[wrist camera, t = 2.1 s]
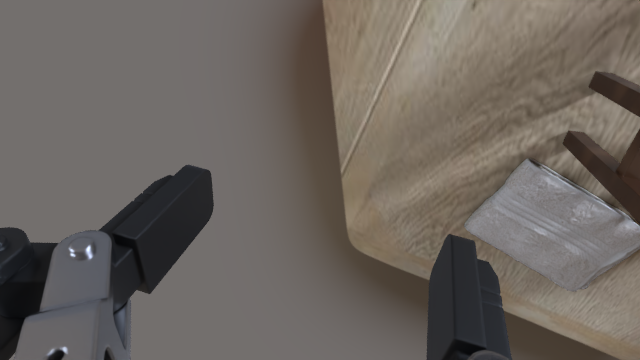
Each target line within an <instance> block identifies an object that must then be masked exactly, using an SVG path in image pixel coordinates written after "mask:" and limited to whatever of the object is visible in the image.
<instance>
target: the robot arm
mask: <svg viewBox="0 0 640 360" xmlns="http://www.w3.org/2000/svg"><path fill="white" fill-rule="evenodd" d="M213 204H214V203H213V191H212V178H211V173H210V171H209V170H207V169H202V168H199V167H195V166H191V165H186V166H184V167H183V168H182V169H181V170H180V171H179V172H178V173H176V174H175V175H174V176H171V175H168V176H166V177H164V178H162V179H160V180H157V181H155V182H154V183H152V184H151V185H150V186H149V187H148V188H147V189H146V190H144V191H143V194H142V193H141V194H140V195H139V196H138V197H136V198H135V200H134V201H132V202H131V203H130V204H128V205H127V206H126V207H125V208H124V209H123V210H121V211H120V212H119V213H118V214H117V215H116V216H115V217H113V218H112V219H111V220H110V221H109V222H108V223H107V224H106V225H105V226H103V227H102V228H101V229H100V230H98V231H96V230H90V231H83V232H79V233H75V234H73V235H71V236H69V237H67V238H65V239H64V240H62V241H61V242H60V243H30V241H29V239H28V237H27V235H26V233H24V231H22V230H20V229H18V228H10V227H8V228H0V360H9V359H10V358H11V357H12V355H13V354H14V353H15V352H16V353H15V357H14V360H131V358H130V339H131V337H130V335H131V300H130V297H131V296H132V294H133V293H134V292H135V291H136V290H139V291H142V292H145V293H148V294H150V293H151V292H152V291H153V290H154V288H155V287H156V286H157V285H158V283H159V282H160V281H161V280H162V278H163V277H164V276H165V275H166V273H167V272H168V271H169V270H170V269H171V267H172V266H173V265H174V263H175V262H176V261H177V260H178V259H179V257H180V256H181V255H182V254H183V252H184V251H185V250H186V249H187V247H188V246H189V245H190V244H191V242H192V241H193V240H194V239H195V237H196V236H197V235H198V234H199V232H200V231H201V230H202V229H203V227H204V226H205V225H206V224H207V222H208V221H209V219H210V217H211V215H212V212H213V206H214V205H213ZM428 305H429V306H428V333H427V334H428V335H427V360H512V358H511V353H510V347H509V341H508V335H507V329H506V323H505V317H504V311H503V308H502V306H503V305H502V299H501V296H500V287H499V281H498V277H497V275H496V273H495V272H494V270H493V268H492V267H491V265H490V264H489V262H487V261H483V260H479V259H477V255H476V246H475V242H474V241H473V240H470V239H466V238H462V237H459V236H455V235H451V234H449V235H448V236H447V237H446V239H445V241H444V244H443V246H442V248H441V250H440V253H439V255H438V257H437V259H436V262H435V264H434V266H433V269H432V272H431V276H430V283H429V302H428Z"/></svg>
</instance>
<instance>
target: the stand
mask: <svg viewBox="0 0 640 360" xmlns="http://www.w3.org/2000/svg"><path fill="white" fill-rule="evenodd" d="M589 87H590V88H591V89H593V90H595V91H597V92H598V93H600V94H602V95H603V96H605V97H607V98H608V99H610V100H612V101H613V102H615V103H617V104H619V105H620V106H622V107H624V108H625V109H627V110H629V111H630V112H632V113H634V114H636V115H637V116H639V117H640V86H639V85H637V84H634V83H632V82H630V81H628V80H626V79H623V78H621V77H619V76H617V75H615V74H613V73H606V72H597V71H596V72H595V74H594V76H593V78H592V80H591V83H590V85H589ZM563 145H564V146H565V147H566V148H567V149H568V150H569V151H570V152H571V153H572V154H573V155H574V156H575V157H576V158H577V159H578V160H579V161H580V162H581V163H582V164H583V165H584V166H585V167H586V168H587V169H588V170H589V172H590V173H591V174H592V175H593V176H594V177H595V178H596V179H597V180H598V181H599V182H600V183H601V184H602V185H603V186H604V187H605V188H606V189H607V190H608V191H609V192H610V193H611V194H612V195H613V196H614V197H615V198H616V199H617V201H618V202H619V203H620V204H621V205H622V206H623V207H624V208H625V209H626V210H627V211H628V212H629V213H630V214H631V215H632V216H633V217H634V218H635V219H636V220H637V221H638V222H639V223H640V129H639V131H638V133H637V134H636V136H635V138H634V140H633V142H632V143H631V145H630V147H629V149H628V150H627V152H626V154H625V156H624V158H623V159H622V161H621V163H619V162H618V161H616V160H615V159H614V158H613V157H612V156H611V155H609V154H608V153H607V152H606V151H605V150H604V149H602V148H601V147H600V146H599V145H598V144H596V143H595V142H594V141H593V140H592V139H591V138H589V137H588V136H587V135H586V134H585V133H583V132H576V131H568V133H567V135H566V137H565V139H564V141H563Z"/></svg>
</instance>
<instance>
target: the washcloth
mask: <svg viewBox="0 0 640 360" xmlns="http://www.w3.org/2000/svg"><path fill="white" fill-rule="evenodd" d="M464 227H465V228H466V229H467V230H468V231H470V233H471V234H472V235H475V236H477V237H478V238H479V239H482V240H483V241H486V242H487V243H488V244H490V245H493V246H494V247H495V248H496V249H499V250H501V251H502V252H505V253H506V254H507V255H509V256H511V257H513V258H514V259H515V260H516V261H519V262H521V263H523V264H525V265H526V266H528V267H529V268H530V269H533V270H535V271H537V272H539V273H540V274H541V275H543V276H545V277H547V278H549V279H550V280H552V281H553V282H555V283H556V284H557V285H559V286H561V287H563V288H565V289H566V290H569V291H577V290H578V289H586V288H587V287H588V285H589V284H590V282H591V281H593V280H594V279H595V278H597V277H598V276H599V275H601V274H602V273H604V272H606V271H607V270H608V269H610V268H611V267H613V266H615V265H616V264H618V263H619V262H621V261H623V260H624V259H626V258H628V257H629V256H630V255H632V254H633V253H634V252H636V251H637V250H639V249H640V225H638V224H637V223H635V222H634V221H633V220H632V219H631V218H630V217H629V216H628V215H626V214H625V213H623V212H622V211H620V210H619V209H617V208H615V207H613V206H612V205H609V204H608V203H606V202H604V201H603V200H601V199H600V198H598V197H597V196H595V195H594V194H592V193H590V192H588V191H587V190H585V189H584V188H582V187H580V186H578V185H576V184H574V183H573V182H571V181H570V180H568V179H566V178H564V177H563V176H561V175H559V174H558V173H556V172H555V171H553V170H551V169H550V168H548V167H546V166H544V165H543V164H541V163H539V162H538V161H535V160H533V159H531V158H527V159H526V160H525V161H523V162H522V163H521V164H520V165H519V166H518V167H517V168H516V169H515V170H514V172H513V173H511V175H510V176H509V177H508V179H507V180H506V181H505V184H504V185H503V186H502V187H501V188H500V189H499V190H498V191H497V192H496V193H495V194H494V195H493V196H492V197H489V198H487V200H486V201H484V203H483V204H482V205H481V206H480V207H479V208H478V209H477V210H476V211H475V212H473V214H472V215H471V216H470V217H469V219H468V220H467V221H466V223H465V224H464Z"/></svg>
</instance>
